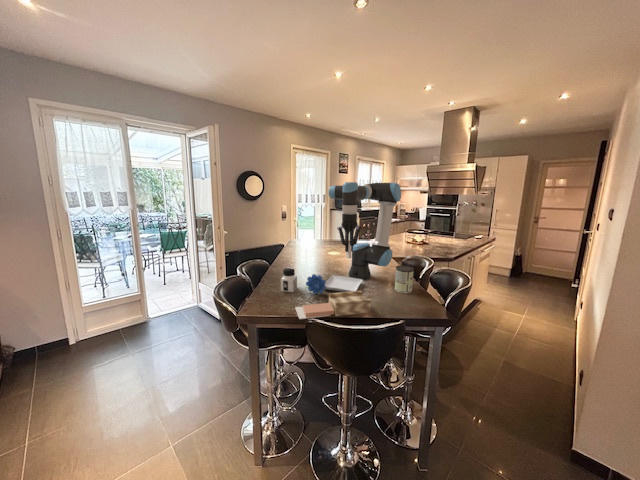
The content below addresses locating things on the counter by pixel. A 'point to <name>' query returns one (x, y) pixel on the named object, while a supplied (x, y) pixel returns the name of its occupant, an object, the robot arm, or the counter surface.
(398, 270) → the coffee can
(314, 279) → the grapes
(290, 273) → the container
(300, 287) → the counter surface
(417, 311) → the counter surface
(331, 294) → the box
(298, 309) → the mat
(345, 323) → the counter surface
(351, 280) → the salad plate
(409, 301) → the counter surface
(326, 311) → the block
